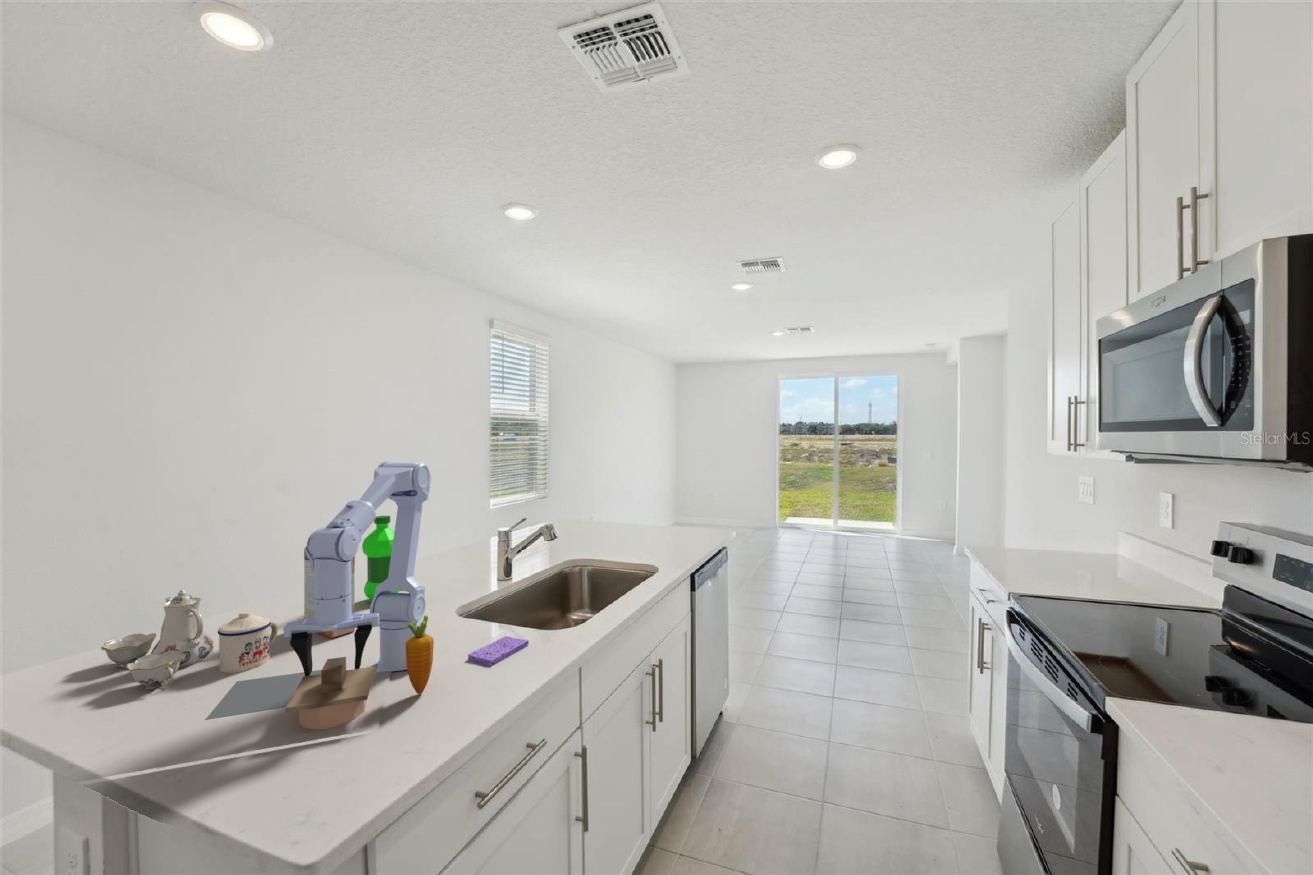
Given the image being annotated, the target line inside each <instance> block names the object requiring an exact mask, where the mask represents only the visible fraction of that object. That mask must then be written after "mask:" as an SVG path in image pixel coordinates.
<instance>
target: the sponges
mask: <svg viewBox="0 0 1313 875" xmlns="http://www.w3.org/2000/svg"><path fill="white" fill-rule="evenodd" d="M529 644H530V642H529V640H528V639H523V638H517V637H511V636H507V635H504V636H502V637H501V638H499V639H497V640H496V641H493V642H492V643H489V644H486V645H485V646H483V647H481V648H479V649H477V650H474V651H472V652H470V653H468V654H467V660H468V661H471V662H474V663H478V664H482V665H487V666H491V667H492V666H495V665H496V664H498V663H500V662H502V661H503V660H505V659H507V658H508V657H510V656H512V655H514V654H516V653H518V652H519V651H521V650H523V649H524V648H527V647H528V645H529Z"/></svg>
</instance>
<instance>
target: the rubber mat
mask: <svg viewBox="0 0 1313 875" xmlns="http://www.w3.org/2000/svg"><path fill="white" fill-rule="evenodd" d="M321 670H322V669H318V670H312V672H311V674H310V676H311V675H318V674H321ZM304 676H305V674H304V671H302V672H296V673H290V674H280V675H274V676H266V677H260V678H250V679H245V680H239V681H238V680H237V681H236V682H235V683H234V684H233V685H232V686H231V687H230V689H229V690H228V692H227V693H226V694H225V695H224V697H223V698H222V699H221V700H220V701H219V702H218V704H217V705H216V706H215V707H214V708H213V709H212V711H211V712H210V713H209V715H207V717H206V718H205V721H207V720H212V719H218V718H219V719H220V718H225V717H231V716H237V715H246V714H251V713H257V712H264V711H270V710H277V709H278V710H279V709H283V708H284V709H285V708H286V706H287V704H288V703H289V701H290V699H291V697H292V696H293V694H294V692H295V690H296V689H297V687H298V685H299V683H300V682H301V680H302V678H303V677H304Z"/></svg>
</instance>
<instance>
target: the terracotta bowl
mask: <svg viewBox="0 0 1313 875" xmlns="http://www.w3.org/2000/svg"><path fill="white" fill-rule="evenodd" d="M366 707H367V700H363V701H357V702H351V703H344V704H338V705H332V706H326V707H319V708H313V709H307V710H300V711H298V722H299V725H301V726H302V727H303V728H304V729H308V730H309V729H311V730H323V729H330V728H336V727H339V726H342V725H344V724H347V723H350V722H352V721H355V719H357V718H359V717H360V715H362V714H363V713H364V712H365V710H366Z"/></svg>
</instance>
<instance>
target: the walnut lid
mask: <svg viewBox="0 0 1313 875" xmlns="http://www.w3.org/2000/svg"><path fill="white" fill-rule="evenodd" d="M376 669H377V666H370V667H364V668H361V667H360V668H359V669H356V670H355V668H354V669H347V656H340V657H334V658H327V659H326V661H325V663H324V665H323V667H322V669H320V670H321V674H318V675H311V676H306V677H305V676H304V677H303V678H302V680H301V682H300V683H299V685H298V687H297V689H296V690H295V692H294V694H293V696H292V697H291V699H290V701H289V703H288V704H287V706H286V707H284V710H285V711H284V712H285V713H286V714H287V713H293V712H299V711H300V710H307V709H313V708H319V707H326V706H332V705H338V704H344V703H351V702H357V701H363V700H366V701H368V699H369V694H370V691H371V688H372V685H373V682H374V677H375V675H376Z"/></svg>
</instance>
